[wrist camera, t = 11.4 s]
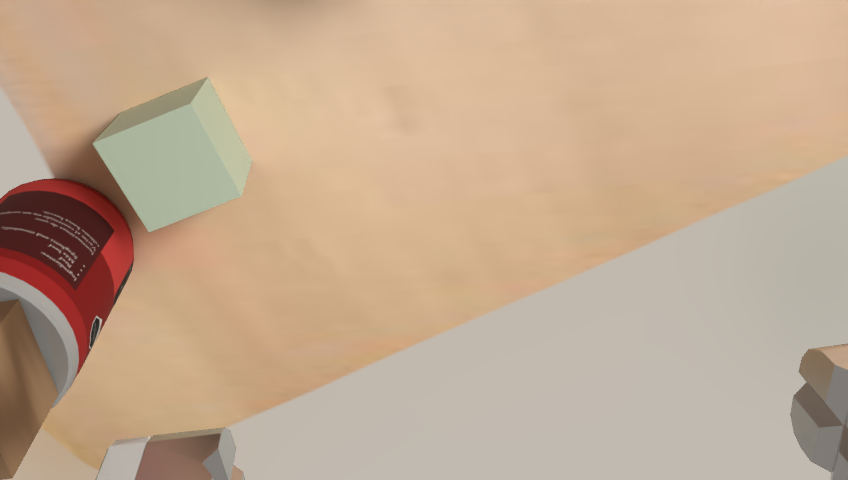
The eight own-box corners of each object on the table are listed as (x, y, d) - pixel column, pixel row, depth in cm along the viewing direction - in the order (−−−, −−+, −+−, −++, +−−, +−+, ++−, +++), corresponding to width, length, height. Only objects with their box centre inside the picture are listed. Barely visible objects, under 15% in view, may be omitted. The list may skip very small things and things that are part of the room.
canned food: (34, 313, 42) (-59, 444, 32) (-35, 192, 38) (-163, 299, 29) (160, 282, 42) (105, 405, 32) (103, 158, 38) (21, 254, 29)
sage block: (121, 111, 37) (92, 143, 33) (208, 76, 37) (190, 103, 33) (170, 193, 40) (148, 232, 35) (252, 160, 39) (241, 196, 35)
